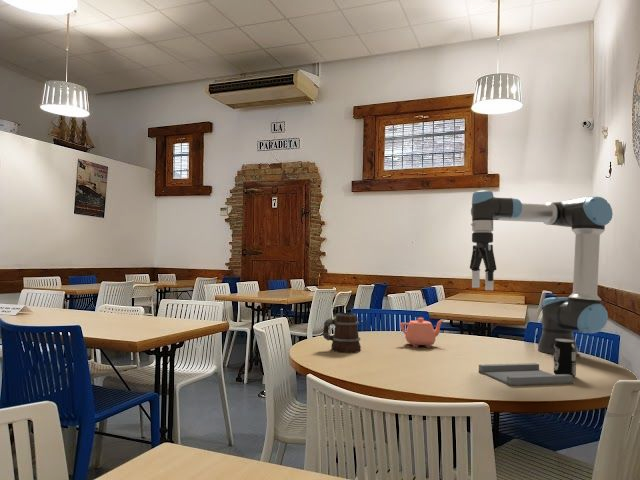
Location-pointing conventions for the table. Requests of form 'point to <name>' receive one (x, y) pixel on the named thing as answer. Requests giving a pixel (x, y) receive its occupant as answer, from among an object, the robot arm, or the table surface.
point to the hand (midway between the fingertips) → (482, 289)
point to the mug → (343, 333)
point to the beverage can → (564, 357)
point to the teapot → (420, 332)
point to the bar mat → (523, 374)
